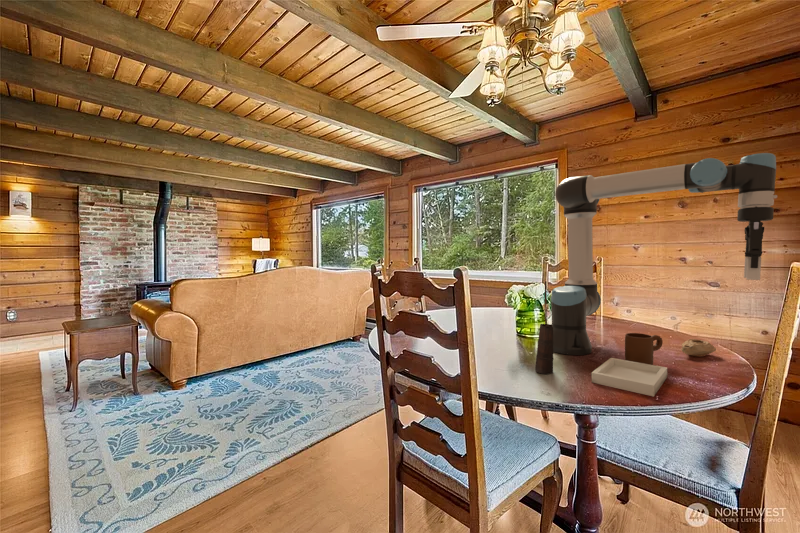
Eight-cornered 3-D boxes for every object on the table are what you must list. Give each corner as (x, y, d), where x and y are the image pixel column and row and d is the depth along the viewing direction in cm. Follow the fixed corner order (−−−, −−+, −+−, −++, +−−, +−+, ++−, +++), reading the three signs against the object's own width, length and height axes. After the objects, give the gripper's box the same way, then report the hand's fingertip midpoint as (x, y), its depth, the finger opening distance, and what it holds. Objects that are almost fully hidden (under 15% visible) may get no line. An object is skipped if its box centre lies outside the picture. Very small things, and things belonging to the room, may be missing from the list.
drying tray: (591, 382, 98) (591, 372, 98) (610, 366, 111) (610, 357, 111) (653, 396, 88) (653, 385, 88) (667, 377, 101) (667, 367, 101)
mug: (651, 359, 117) (651, 331, 117) (672, 366, 110) (672, 336, 109) (619, 361, 116) (619, 333, 115) (637, 368, 108) (637, 338, 108)
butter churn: (559, 380, 100) (559, 283, 99) (525, 374, 106) (524, 282, 105) (564, 370, 108) (563, 281, 107) (532, 366, 113) (531, 280, 112)
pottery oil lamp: (669, 354, 121) (667, 334, 124) (694, 362, 124) (691, 342, 127) (697, 351, 113) (694, 330, 116) (723, 360, 116) (719, 339, 119)
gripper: (779, 201, 92) (774, 281, 93) (769, 211, 110) (765, 277, 111) (739, 203, 97) (735, 279, 98) (736, 212, 115) (732, 276, 116)
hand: (751, 278), depth 104 cm, fingers open, 13 cm apart
